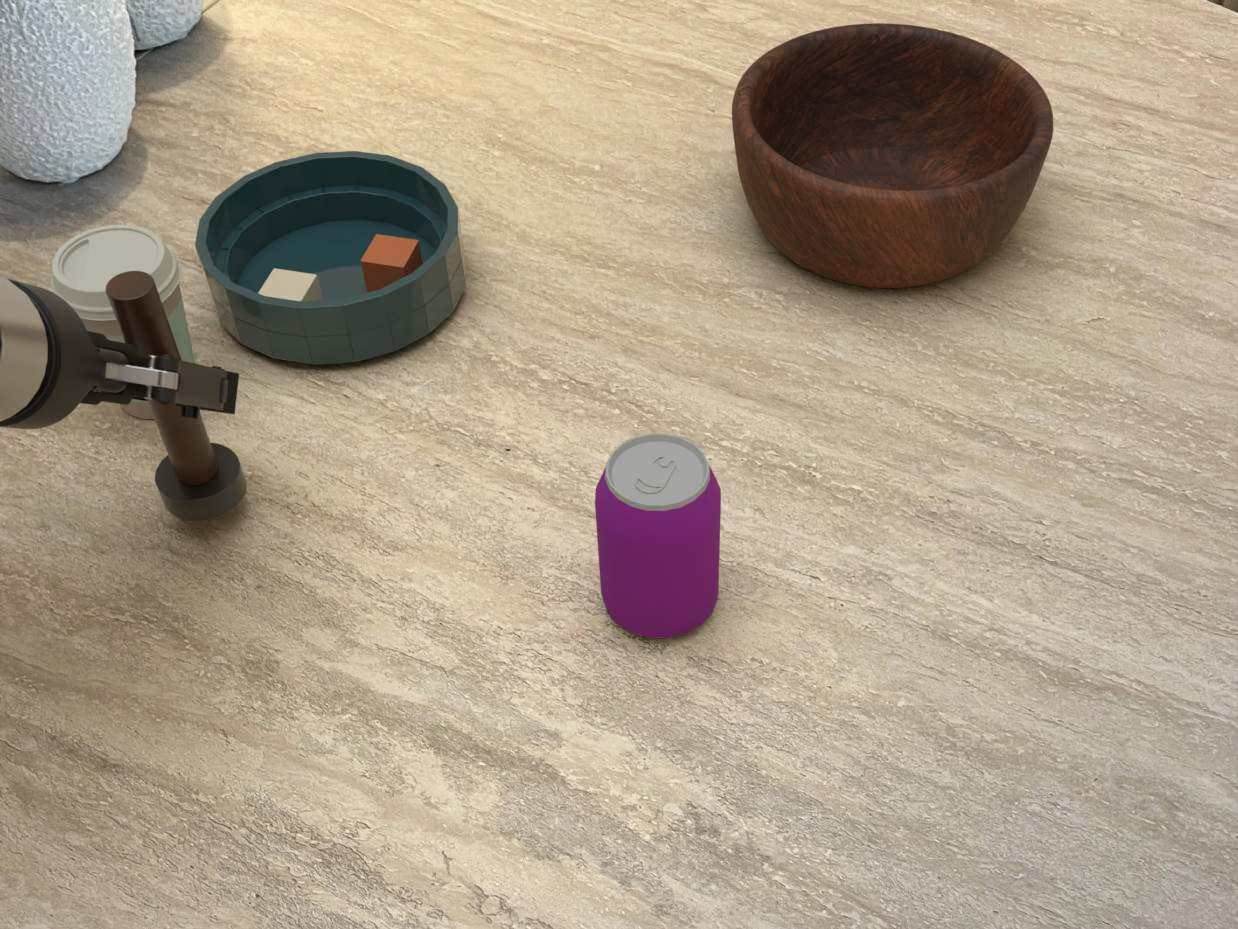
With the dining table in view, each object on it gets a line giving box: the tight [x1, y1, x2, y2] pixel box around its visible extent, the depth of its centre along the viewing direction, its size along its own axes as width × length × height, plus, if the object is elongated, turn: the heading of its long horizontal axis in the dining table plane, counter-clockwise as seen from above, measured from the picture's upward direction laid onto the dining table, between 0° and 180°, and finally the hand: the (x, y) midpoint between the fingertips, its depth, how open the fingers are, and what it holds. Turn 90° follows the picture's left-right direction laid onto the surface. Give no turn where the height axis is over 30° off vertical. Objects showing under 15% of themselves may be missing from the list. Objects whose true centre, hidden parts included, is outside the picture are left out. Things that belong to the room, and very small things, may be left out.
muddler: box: [106, 271, 248, 522], centre depth 93 cm, size 6×6×17 cm
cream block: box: [258, 268, 323, 301], centre depth 111 cm, size 4×4×4 cm
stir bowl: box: [194, 150, 467, 365], centre depth 113 cm, size 20×20×6 cm
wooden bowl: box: [731, 22, 1054, 289], centre depth 118 cm, size 25×25×10 cm
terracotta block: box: [361, 234, 423, 293], centre depth 113 cm, size 4×4×4 cm
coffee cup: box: [50, 224, 196, 420], centre depth 103 cm, size 9×8×12 cm
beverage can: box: [594, 432, 722, 639], centre depth 91 cm, size 8×8×12 cm
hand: (206, 389), depth 97 cm, fingers closed on muddler, 3 cm apart
